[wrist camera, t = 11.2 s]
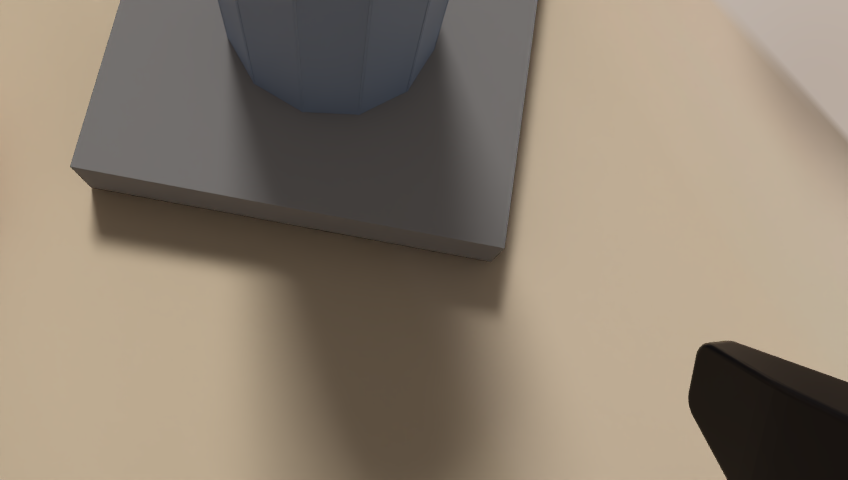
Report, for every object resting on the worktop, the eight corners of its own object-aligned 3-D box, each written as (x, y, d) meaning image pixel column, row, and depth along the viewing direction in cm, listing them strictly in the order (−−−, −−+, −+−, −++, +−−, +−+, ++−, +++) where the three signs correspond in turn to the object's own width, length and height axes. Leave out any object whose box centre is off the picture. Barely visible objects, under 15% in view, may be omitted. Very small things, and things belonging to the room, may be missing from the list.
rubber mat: (536, -70, 21) (551, -106, 20) (490, 261, 19) (504, 248, 17) (189, -149, 20) (178, -193, 19) (91, 187, 18) (69, 166, 16)
